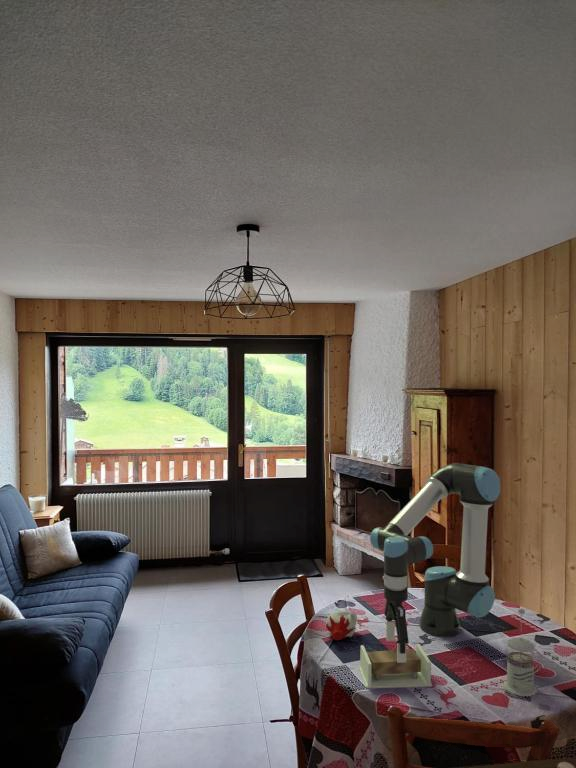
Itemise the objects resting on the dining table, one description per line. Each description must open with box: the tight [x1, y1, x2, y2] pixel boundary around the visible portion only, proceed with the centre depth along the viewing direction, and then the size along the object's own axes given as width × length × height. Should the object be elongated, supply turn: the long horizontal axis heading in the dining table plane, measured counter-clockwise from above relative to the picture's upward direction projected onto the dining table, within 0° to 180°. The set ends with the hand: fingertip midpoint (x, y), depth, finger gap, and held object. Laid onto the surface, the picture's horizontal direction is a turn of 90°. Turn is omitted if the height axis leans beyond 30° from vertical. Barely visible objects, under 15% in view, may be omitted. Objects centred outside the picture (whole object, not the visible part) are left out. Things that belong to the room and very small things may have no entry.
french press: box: [503, 608, 543, 697], centre depth 174 cm, size 10×12×25 cm
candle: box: [325, 610, 358, 641], centre depth 206 cm, size 9×11×15 cm
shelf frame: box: [358, 643, 433, 689], centre depth 179 cm, size 21×12×8 cm, turn 94°
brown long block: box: [366, 648, 421, 676], centre depth 179 cm, size 16×7×4 cm, turn 99°
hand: (395, 651), depth 179 cm, fingers open, 13 cm apart
